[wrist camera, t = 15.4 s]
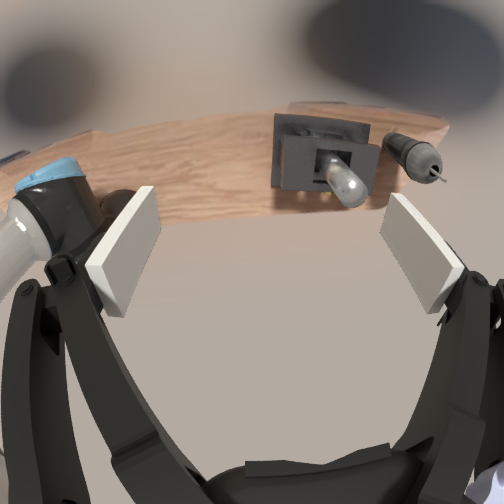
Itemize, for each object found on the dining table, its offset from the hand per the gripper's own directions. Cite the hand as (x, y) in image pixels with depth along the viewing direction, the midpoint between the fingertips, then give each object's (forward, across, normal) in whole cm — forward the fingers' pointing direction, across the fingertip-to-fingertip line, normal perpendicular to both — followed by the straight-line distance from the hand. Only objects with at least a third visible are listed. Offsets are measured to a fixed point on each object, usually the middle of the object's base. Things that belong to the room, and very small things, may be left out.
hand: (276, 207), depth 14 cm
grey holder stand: (+37, +12, -7) cm, 39 cm away
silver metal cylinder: (+36, +12, -7) cm, 38 cm away
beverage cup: (+37, +27, -3) cm, 46 cm away
